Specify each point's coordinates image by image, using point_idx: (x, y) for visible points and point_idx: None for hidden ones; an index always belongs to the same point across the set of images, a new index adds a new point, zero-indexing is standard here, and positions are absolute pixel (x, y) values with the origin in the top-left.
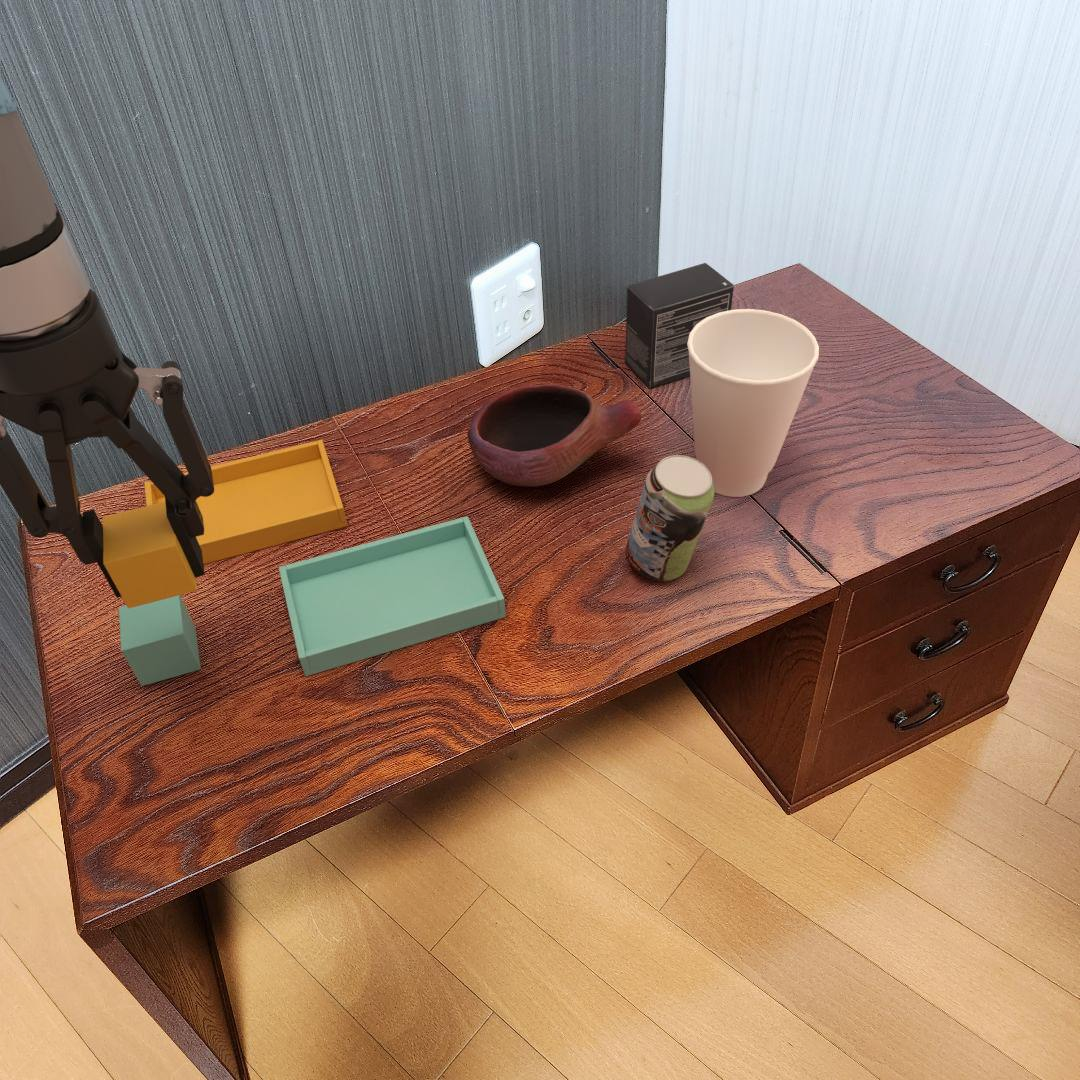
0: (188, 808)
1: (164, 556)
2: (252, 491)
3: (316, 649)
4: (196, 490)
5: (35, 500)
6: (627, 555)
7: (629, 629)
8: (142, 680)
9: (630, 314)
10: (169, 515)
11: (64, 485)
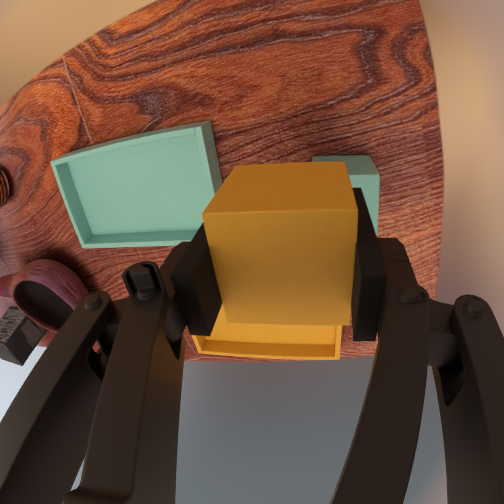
0: (322, 5)
1: (237, 202)
2: (258, 329)
3: (184, 133)
4: (104, 308)
5: (466, 392)
6: (4, 187)
7: (9, 133)
8: (367, 157)
9: (26, 351)
10: (186, 276)
11: (382, 434)
